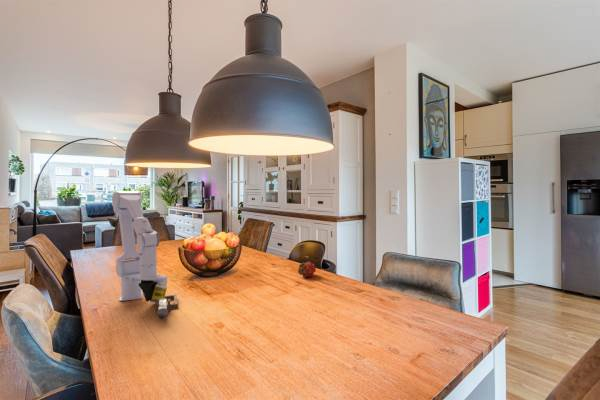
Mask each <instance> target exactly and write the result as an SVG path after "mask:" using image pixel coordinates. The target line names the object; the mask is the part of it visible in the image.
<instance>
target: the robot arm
mask: <svg viewBox="0 0 600 400" xmlns="http://www.w3.org/2000/svg"><path fill="white" fill-rule="evenodd" d="M111 201H112V208H113V213H114V214H117V216H118V217H117V218H118V220H119V222H118V223H119V230H120V231H119V232H120V238H121V245H122V254H120V255H119V256H118V257H117V258H116V261H115V271H116V275H117V276H118V277H119V278H120V281H121V287H120V288H121V289H120V290H121V293H120V294H121V296H120V297H119V299H118V301H119V302H124V301H130V300H131V301H132V300H133V301H134V300H141V299H142V298H143V297H144V299H145V302H150V300H151V299H152V295H153V291H154V289H155V287H156V285H157V283H158V282H162V283H164V282H167V281H168V275H161V274H158V272H157V270H158V268H157V267H158V266H157V265H158V262H157V247H158V246H159V244H160V236H159V233H158V232H157V231H155V230H154V229H153V227H152V226H151V223H150V221H149V218H147V217H144V214H143V210H142V207H141V206H142V202H143V195H142V193H141V192H140V190H137V191H121V190H119V191H118V190H115V191H114V192H113V194H112V198H111ZM135 235H136V238H135ZM136 245H137V246H136ZM167 283H168V282H167Z"/></svg>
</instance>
